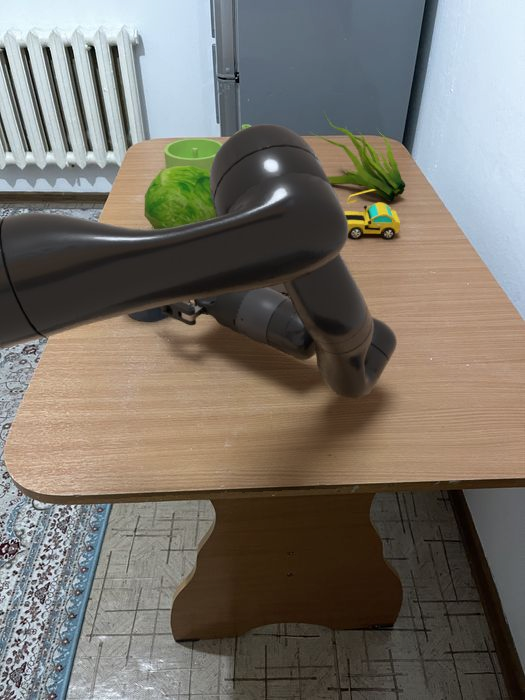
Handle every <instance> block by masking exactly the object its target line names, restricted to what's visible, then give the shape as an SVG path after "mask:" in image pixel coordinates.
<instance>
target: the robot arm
mask: <svg viewBox="0 0 525 700" xmlns="http://www.w3.org/2000/svg"><path fill="white" fill-rule="evenodd" d="M238 131H239V132H238ZM238 131H236V132H237V133H236V132H234V133H233V134H232V135H231V136H229V138H227V139H226V140H225V141H224V142H223V143H222V146H221V147H220V149H219V150H218V152H217V153H216V155H215V157H214V160H213V162H212V166H211V170H210V193H211V198H212V203H213V206H214V210H215V212H216V215H217V217H216V218H212V219H208V220H205V221H201V222H196V223H191V224H186V225H182V226H177V227H172V228H164V229H154V228H152V229H151V228H150V229H149V228H148V229H145V228H144V229H141V228H130V227H124V226H118V225H112V224H108V223H105V222H101V221H95V220H91V219H87V218H82V217H77V216H72V215H68V214H67V215H66V214H61V213H53V212H52V213H51V212H43V211H42V212H39V211H38V212H26V213H25V212H24V213H20V214H15V215H14V214H13V215H8V216H6V217H2V218H0V351H1V350H4V349H8V348H12V347H15V346H19V345H23V344H27V343H30V342H34V341H37V340H42V339H45V338H48V337H52V336H55V335H58V334H62V333H66V332H69V331H72V330H74V329H78V328H80V327H83V326H87V325H92V324H96V323H99V322H104V321H107V320H110V319H115V318H118V317H122V316H126V315H129V314H130V313H135V312H139V311H143V310H147V309H152V308H156V307H160V306H161V311H162V314H165V315H167V316H168V317H169V318H172V319H174V320H176V321H179V322H180V323H183V324H186V325H189V326H195V325H196V324H197V318H199V317H200V316H201V315H208V316H211V317H212V318H213V319H214V320H215V321H216V322H217V323H218V324H219V325H221V326H222V327H225V328H226V329H229V330H231V331H233V332H235V333H237V334H239V335H242V336H244V337H245V338H248V339H250V340H252V341H254V342H257V343H259V344H263V345H266V346H269V347H271V348H273V349H276V350H278V351H279V352H281V353H284V354H286V355H288V356H290V357H292V358H295V359H296V360H301V361H305V360H310V359H311V358H312V357H314V356H315V357H316V365H317V369H318V373H319V375H320V377H321V379H322V380H323V383H324V384H325V385H326V386H327V388H329V390H330V391H332V392H333V393H335V394H336V395H337V396H339V397H341V398H344V399H347V400H360V399H362V398H365V397H367V396H368V395H370V394H371V393H372V391H373V390H374V388H375V387H376V385H377V383H378V381H379V380H380V378H381V376H382V374H383V372H384V370H385V369H386V367H387V365H388V364H389V362H390V360H391V358H392V357H393V355H394V353H395V351H396V348H397V344H398V341H397V336H396V334H395V332H394V331H393V329H392V328H391V327H390V326H389V325H388V324H387V323H386V322H384V321H382V320H380V319H378V318H376V317H373V316H372V314H371V312H370V309H369V307H368V305H367V303H366V299H365V297H364V295H363V294H362V292H361V289H360V287H359V286H358V284H357V282H356V280H355V278H354V277H353V275H352V272H351V271H350V269H349V268H348V266H347V264H346V261H345V260H344V258H343V257H342V254H341V252H342V251H343V248H344V247H345V245H346V244H347V241H348V237H349V233H348V222H347V219H346V216H345V213H344V209H343V206H342V204H341V201H340V199H339V197H338V195H337V193H336V191H335V190H334V188H333V186H332V184H330V182H329V180H328V178H327V177H328V176H327V174H326V171H325V170H324V168H323V165H322V162H320V159H319V158H318V156H317V154H316V152H315V151H314V149H313V148H312V146H311V145H309V143H308V142H307V141H306V140H305V139H304V138H303V137H302V136H301V135H300V134H298V133H296V132H295V131H293V130H292V129H290V128H288V127H286V126H283V125H279V124H275V123H274V124H273V123H259V124H255V125H251V126H250V127H248V128H245V129H243V130H242V129H241V131H240V130H238ZM279 284H284V286H285V288H286V291H287V293H286V294H287V295H288V296H287V295H285V294H283V292H278V291H275V290H273V289H270V288H268V287H270V286H275V285H279ZM193 301H194V302H193ZM171 307H172V309H171Z"/></svg>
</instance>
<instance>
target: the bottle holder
mask: <svg viewBox="0 0 525 700" xmlns="http://www.w3.org/2000/svg"><path fill="white" fill-rule="evenodd" d="M171 309H172V307H171ZM128 316H129V317H130V318H132V319H133V320H136V321H140V322H147V323H148V322H157V321H160V320H161V321H162V320H164V319H166V318H168V317H169V316H167V315H165V314H162V311H161V306H160V307H156V308H152V309H147V310H143V311H139V312H135V313H130V314H128Z"/></svg>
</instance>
